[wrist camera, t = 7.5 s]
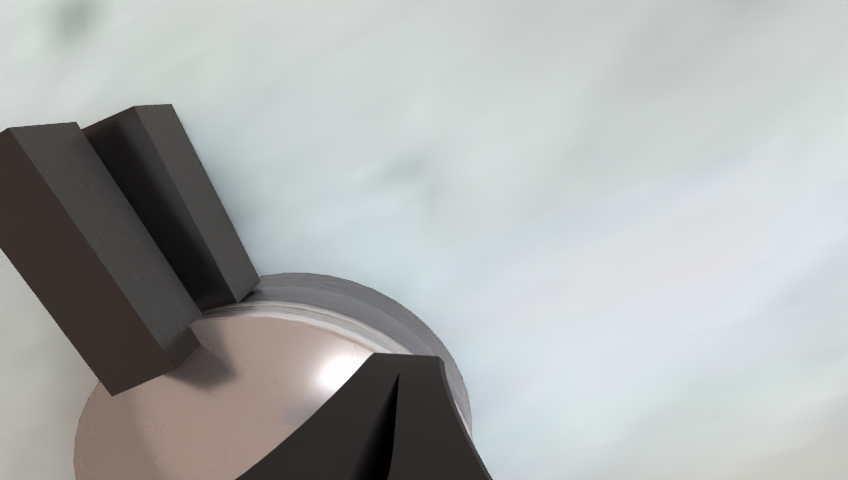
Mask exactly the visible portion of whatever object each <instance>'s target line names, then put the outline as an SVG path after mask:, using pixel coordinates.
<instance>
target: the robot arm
mask: <svg viewBox="0 0 848 480" xmlns="http://www.w3.org/2000/svg"><path fill="white" fill-rule="evenodd" d="M235 480H493V479H492V478H491V476H490V474H489V473H488V471H487V469H486V467H485V465H484V463H483V462H482V460H481V458H480V456H479V454H478V452H477V450H476V448H475V446H474V444H473V442H472V440H471V438H470V436H469V434H468V432H467V430H466V428H465V425H464V423H463V421H462V418H461V416H460V414H459V412H458V409H457V407H456V404H455V402H454V399H453V396H452V393H451V390H450V387H449V384H448V380H447V377H446V372H445V362H444V361H443V360H442V359H441V358H440V357H439V356H427V355H410V354H392V353H375V352H374V353H373V354H372V355H371V356H369V357H368V358H367V359H366V360H365V362H364V363H363V364H362V365H361V366H360V367H359V368H358V369H357V370H356V371H355V372H354V373H353V375H352V376H351V377H350V378H349V379H348V380H347V381H346V382H345V383H344V384H343V385H342V386H341V387H340V388H339V389H338V390H337V391H336V392H335V393H334V394H333V395H332V396H331V397H330V398H329V399H328V400H327V401H326V402H325V403H324V404H323V405H322V406H321V407H320V408H319V409H318V410H317V411H316V412H315V413H314V414H313V415H312V416H311V417H310V418H309V419H307V420H306V421H305V422H304V423H303V424H302V425H301V426H300V427H299V428H297V429H296V430H295V431H294V432H293V433H292V434H290V435H289V436H288V437H287V438H286V439H285V440H284V441H282V442H281V443H280V444H279V445H278V446H277V447H276V448H274V449H273V450H272V451H271V452H270V453H269V454H267V455H266V456H265V457H264V458H262V459H261V460H260V461H259V462H257V463H256V464H255V465H254V466H252V467H251V468H250V469H248V470H247V471H246V472H245V473H243V474H242V475H240V476H239V477H238V478H236V479H235Z"/></svg>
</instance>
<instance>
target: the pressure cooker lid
mask: <svg viewBox="0 0 848 480" xmlns="http://www.w3.org/2000/svg"><path fill="white" fill-rule="evenodd" d="M0 248H1V249H2V251H3V252H4V253H5V255H6V256H7V257H8V259H9V260H10V261H11V263H12V264H13V265H14V267H15V268H16V269H17V271H18V272H19V273H20V275H21V276H22V277H23V279H24V280H25V281H26V283H27V284H28V285H29V287H30V288H31V289H32V291H33V292H34V293H35V295H36V296H37V297H38V299H39V300H40V301H41V303H42V304H43V305H44V307H45V308H46V309H47V311H48V312H49V313H50V315H51V316H52V317H53V319H54V320H55V321H56V323H57V324H58V325H59V327H60V328H61V329H62V331H63V332H64V333H65V335H66V336H67V337H68V339H69V340H70V341H71V343H72V344H73V345H74V347H75V348H76V350H77V351H78V352H79V354H80V355H81V356H82V358H83V359H84V360H85V362H86V363H87V364H88V366H89V367H90V368H91V370H92V371H93V372H94V374H95V375H96V376H97V378H98V379H99V380H100V381H99V383H98V385H97V386H96V388H95V389H94V391H93V392H92V394H91V395H90V397H89V399H88V400H87V403H86V405H85V408H84V410H83V412H82V415H81V417H80V420H79V424H78V428H77V433H76V437H75V448H74V468H75V477H76V480H235V479H236V478H238V477H239V476H240V475H242V474H243V473H245V472H246V471H247V470H248V469H250V468H251V467H252V466H254V465H255V464H256V463H257V462H259V461H260V460H261V459H262V458H264V457H265V456H266V455H267V454H269V453H270V452H271V451H272V450H273V449H274V448H276V447H277V446H278V445H279V444H280V443H281V442H282V441H284V440H285V439H286V438H287V437H288V436H289V435H290V434H292V433H293V432H294V431H295V430H296V429H297V428H299V427H300V426H301V425H302V424H303V423H304V422H305V421H306V420H307V419H309V418H310V417H311V416H312V415H313V414H314V413H315V412H316V411H317V410H318V409H319V408H320V407H321V406H322V405H323V404H324V403H325V402H326V401H327V400H328V399H329V398H330V397H331V396H332V395H333V394H334V393H335V392H336V391H337V390H338V389H339V388H340V387H341V386H342V385H343V384H344V383H345V382H346V381H347V380H348V379H349V378H350V377H351V376H352V375H353V373H354V372H355V371H356V370H357V369H358V368H359V367H360V366H361V365H362V364H363V363H364V362H365V360H366V359H367V358H368V357H369V356H371V355H372V354H373V353H374V352H375V353H392V354H403V353H401V352H400V351H398V350H397V349H396V348H394V347H393V346H391V345H390V344H388V343H386V342H385V341H383V340H381V339H379V338H377V337H376V336H374V335H372V334H370V333H368V332H367V331H365V330H362V329H360V328H357V327H355V326H353V325H350V324H348V323H345V322H343V321H341V320H338V319H335V318H331V317H328V316H324V315H321V314H317V313H314V312H310V311H304V310H298V309H292V308H286V307H275V306H242V307H230V308H222V309H218V310H213V311H208V312H204V313H201V312H200V310H199V309H198V307H197V306H196V304H195V303H194V301H193V300H192V298H191V296H190V295H189V293H188V292H187V290H186V289H185V287H184V286H183V284H182V283H181V281H180V280H179V278H178V277H177V275H176V274H175V272H174V271H173V269H172V268H171V266H170V264H169V263H168V261H167V260H166V258H165V257H164V255H163V254H162V252H161V251H160V249H159V248H158V246H157V245H156V243H155V242H154V240H153V239H152V237H151V236H150V234H149V233H148V231H147V229H146V228H145V226H144V225H143V223H142V222H141V220H140V219H139V217H138V216H137V214H136V213H135V211H134V210H133V208H132V207H131V205H130V204H129V202H128V201H127V199H126V197H125V196H124V194H123V193H122V191H121V190H120V188H119V187H118V185H117V184H116V182H115V181H114V179H113V178H112V176H111V175H110V173H109V172H108V170H107V169H106V167H105V165H104V164H103V162H102V161H101V159H100V158H99V156H98V155H97V153H96V152H95V150H94V149H93V147H92V146H91V144H90V143H89V141H88V140H87V138H86V137H85V135H84V133H83V132H82V130H81V129H80V127H79V126H78V124H77V123H76V122H70V123H58V124H46V125H35V126H23V127H11V128H7V129H6V130H4V131H2V132H1V133H0ZM462 421H463V420H462ZM463 423H464V421H463ZM464 425H465V423H464ZM465 428H466V425H465ZM466 430H467V428H466ZM467 432H468V430H467ZM468 434H469V432H468ZM469 436H470V434H469ZM470 438H471V437H470ZM471 440H472V439H471ZM472 442H473V441H472ZM473 444H474V443H473Z"/></svg>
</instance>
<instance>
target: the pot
mask: <svg viewBox="0 0 848 480" xmlns="http://www.w3.org/2000/svg"><path fill="white" fill-rule="evenodd" d="M81 130H82V132H83V133H84V135H85V137H86V138H87V140H88V141H89V143H90V144H91V146H92V147H93V149H94V150H95V152H96V153H97V155H98V156H99V158H100V159H101V161H102V162H103V164H104V165H105V167H106V169H107V170H108V172H109V173H110V175H111V176H112V178H113V179H114V181H115V182H116V184H117V185H118V187H119V188H120V190H121V191H122V193H123V194H124V196H125V197H126V199H127V201H128V202H129V204H130V205H131V207H132V208H133V210H134V211H135V213H136V214H137V216H138V217H139V219H140V220H141V222H142V223H143V225H144V226H145V228H146V229H147V231H148V233H149V234H150V236H151V237H152V239H153V240H154V242H155V243H156V245H157V246H158V248H159V249H160V251H161V252H162V254H163V255H164V257H165V258H166V260H167V261H168V263H169V264H170V266H171V268H172V269H173V271H174V272H175V274H176V275H177V277H178V278H179V280H180V281H181V283H182V284H183V286H184V287H185V289H186V290H187V292H188V293H189V295H190V296H191V298H192V300H193V301H194V303H195V304H196V306H197V307H198V309H199V310H200V312H201V313H204V312H208V311H213V310H218V309H222V308H230V307H242V306H275V307H286V308H292V309H298V310H304V311H310V312H314V313H317V314H321V315H324V316H328V317H331V318H335V319H338V320H341V321H343V322H345V323H348V324H350V325H353V326H355V327H357V328H360V329H362V330H365V331H367V332H368V333H370V334H372V335H374V336H376V337H377V338H379V339H381V340H383V341H385V342H386V343H388V344H390V345H391V346H393V347H394V348H396V349H397V350H398V351H400V352H401V353H403V354H410V355H427V356H439V357H440V358H441V359H442V360H443V361H444V362H445V372H446V377H447V380H448V384H449V387H450V390H451V393H452V396H453V399H454V402H455V404H456V407H457V409H458V412H459V414H460V416H461V418H462V420H463V421H464V423H465V425H466V428H467V430H468V432H469V434H470V437H471V439H472V422H471V409H470V403H469V397H468V393H467V390H466V387H465V384H464V381H463V378H462V375H461V373H460V371H459V369H458V367H457V365H456V363H455V361H454V359H453V358H452V356H451V355H450V353H449V352H448V350H447V349H446V347H445V346H444V344H443V343H442V342H441V341H440V339H439V338H438V337H437V336H436V335H435V334H434V333H433V331H432V330H431V329H430V328H429V327H428V326H427V325H426V324H425V323H424V322H422V321H421V320H420V319H419V318H418V317H417V316H416V315H414V314H413V313H412V312H411V311H409V310H408V309H406V308H405V307H403V306H402V305H400V304H399V303H397V302H396V301H395V300H393V299H391V298H389V297H387V296H385V295H383V294H381V293H379V292H378V291H376V290H374V289H371V288H369V287H366V286H363V285H361V284H358V283H355V282H353V281H349V280H345V279H341V278H337V277H333V276H328V275H319V274H311V273H282V274H275V275H268V276H262V277H258V275H257V273H256V271H255V269H254V267H253V265H252V263H251V261H250V259H249V257H248V255H247V253H246V251H245V249H244V247H243V245H242V243H241V241H240V239H239V237H238V235H237V233H236V231H235V229H234V227H233V225H232V223H231V221H230V219H229V217H228V215H227V213H226V211H225V209H224V207H223V205H222V203H221V201H220V199H219V197H218V195H217V193H216V191H215V189H214V187H213V185H212V183H211V182H210V180H209V178H208V176H207V174H206V172H205V170H204V168H203V166H202V164H201V162H200V160H199V158H198V156H197V154H196V152H195V150H194V148H193V146H192V144H191V142H190V140H189V138H188V136H187V134H186V132H185V130H184V128H183V126H182V124H181V122H180V120H179V118H178V116H177V114H176V112H175V110H174V108H173V106H172V104H164V105H145V106H133V107H131V108H128V109H126V110H124V111H122V112H119V113H117V114H115V115H113V116H110V117H108V118H106V119H104V120H102V121H99V122H97V123H95V124H93V125H90V126H88V127H86V128H84V129H81ZM472 441H473V440H472Z"/></svg>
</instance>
